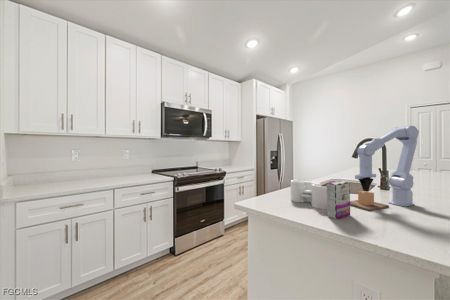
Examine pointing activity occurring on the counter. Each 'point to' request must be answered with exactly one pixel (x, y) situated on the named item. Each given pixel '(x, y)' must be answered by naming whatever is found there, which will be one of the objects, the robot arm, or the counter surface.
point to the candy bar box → (338, 199)
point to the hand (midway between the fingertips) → (365, 191)
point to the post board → (368, 208)
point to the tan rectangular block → (366, 198)
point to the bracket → (309, 193)
